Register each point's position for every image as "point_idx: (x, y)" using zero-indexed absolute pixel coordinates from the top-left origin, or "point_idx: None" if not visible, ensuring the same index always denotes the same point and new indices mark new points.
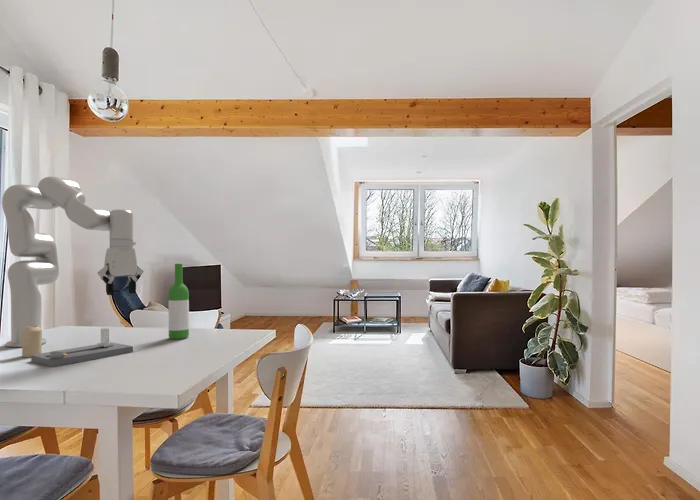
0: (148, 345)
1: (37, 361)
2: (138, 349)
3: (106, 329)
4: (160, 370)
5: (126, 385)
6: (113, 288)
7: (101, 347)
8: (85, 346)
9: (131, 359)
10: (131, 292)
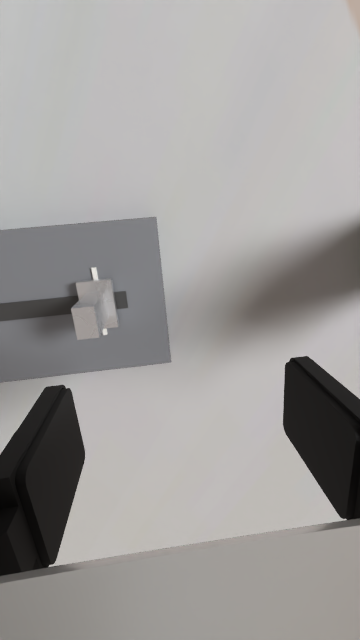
0: (260, 287)
1: None
2: (202, 327)
3: (87, 337)
4: None
5: None
6: (69, 510)
7: None
8: (48, 232)
9: (120, 440)
10: (286, 403)
